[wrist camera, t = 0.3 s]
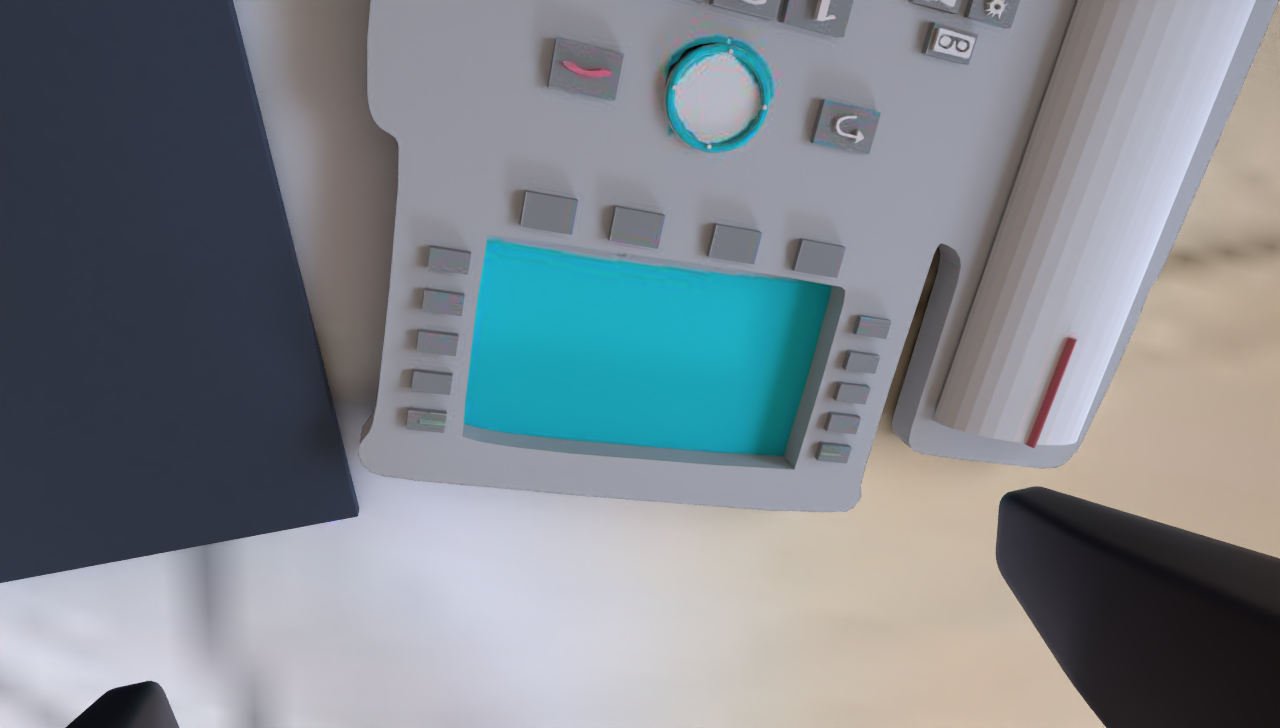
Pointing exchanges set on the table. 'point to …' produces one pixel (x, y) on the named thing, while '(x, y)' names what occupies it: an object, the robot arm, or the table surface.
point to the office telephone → (775, 231)
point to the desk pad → (148, 295)
